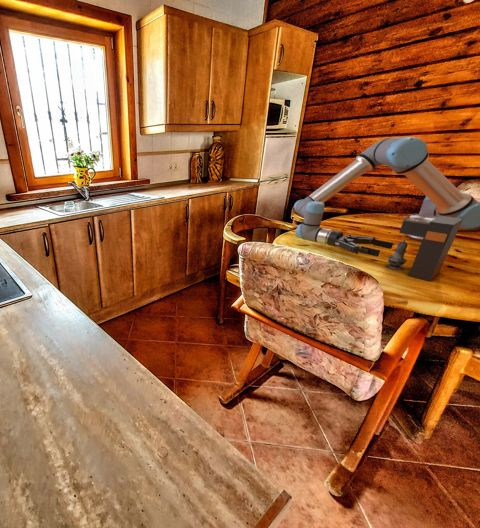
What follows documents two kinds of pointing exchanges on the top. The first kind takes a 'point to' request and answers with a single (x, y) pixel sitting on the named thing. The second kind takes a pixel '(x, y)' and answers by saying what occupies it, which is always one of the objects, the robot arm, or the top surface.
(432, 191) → the robot arm
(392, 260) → the dark grey chess piece
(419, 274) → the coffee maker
